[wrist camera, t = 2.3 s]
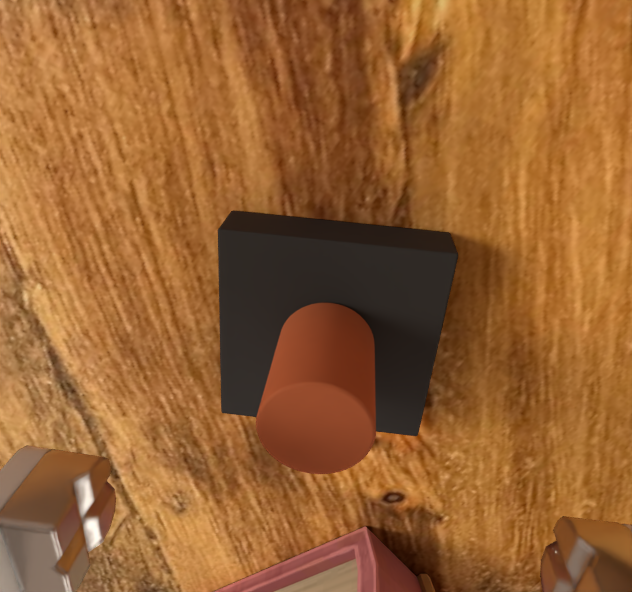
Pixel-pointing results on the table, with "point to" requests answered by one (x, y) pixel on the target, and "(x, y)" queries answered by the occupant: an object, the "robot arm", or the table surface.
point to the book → (338, 570)
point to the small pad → (338, 272)
